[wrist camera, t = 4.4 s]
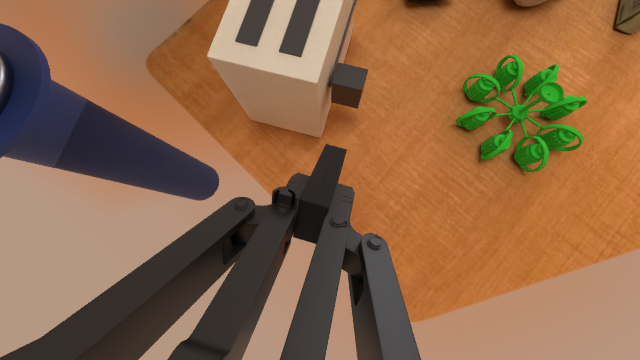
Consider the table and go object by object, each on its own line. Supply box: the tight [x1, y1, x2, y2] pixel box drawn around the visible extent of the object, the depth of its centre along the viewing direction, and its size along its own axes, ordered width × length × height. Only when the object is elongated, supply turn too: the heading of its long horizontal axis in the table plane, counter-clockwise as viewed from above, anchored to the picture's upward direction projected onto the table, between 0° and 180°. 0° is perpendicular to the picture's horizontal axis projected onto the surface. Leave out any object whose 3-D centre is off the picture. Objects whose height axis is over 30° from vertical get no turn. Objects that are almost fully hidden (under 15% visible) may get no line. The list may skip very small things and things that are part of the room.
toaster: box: [207, 0, 357, 138], centre depth 29 cm, size 10×16×13 cm, turn 164°
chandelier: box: [456, 55, 587, 172], centre depth 30 cm, size 15×15×7 cm
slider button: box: [331, 63, 368, 109], centre depth 28 cm, size 3×2×4 cm
